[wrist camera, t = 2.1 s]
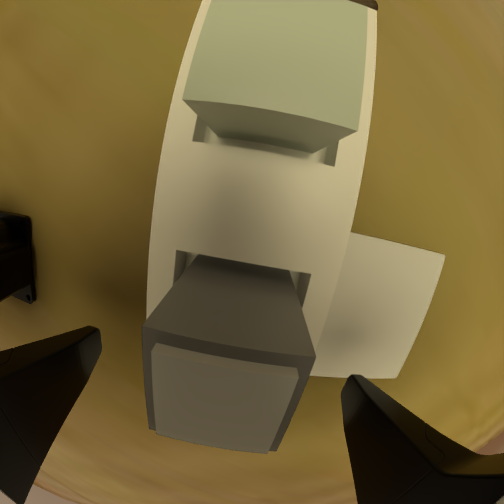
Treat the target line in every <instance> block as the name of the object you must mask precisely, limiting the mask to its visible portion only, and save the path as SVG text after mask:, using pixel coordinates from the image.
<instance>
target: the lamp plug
mask: <svg viewBox="0 0 504 504" xmlns="http://www.w3.org/2000/svg"><path fill="white" fill-rule="evenodd" d="M367 16H368V7H366V6H364V5H361V4H358V3H355V2H352V1H349V0H211V3H210V6H209V9H208V11H207V14H206V17H205V20H204V23H203V26H202V29H201V32H200V35H199V38H198V42H197V45H196V48H195V52H194V55H193V59H192V62H191V66H190V69H189V73H188V77H187V81H186V85H185V89H184V93H183V97H182V100H183V101H184V102H185V103H186V104H187V105H188V106H189V107H190V108H191V109H192V110H193V111H194V112H195V113H196V114H197V115H198V116H199V118H200V119H201V120H202V121H203V122H204V123H205V124H206V125H207V126H208V127H209V128H210V129H211V130H212V131H213V132H214V133H215V134H216V135H217V137H225V138H232V139H239V140H245V141H252V142H258V143H263V144H269V145H274V146H279V147H284V148H289V149H294V150H299V151H303V152H308V153H312V154H313V153H315V152H317V151H319V150H321V149H323V148H325V147H327V146H329V145H331V144H333V143H335V142H337V141H339V140H341V139H343V138H345V137H347V136H349V135H351V134H353V133H355V132H357V131H358V127H359V120H360V112H361V104H362V95H363V85H364V74H365V61H366V45H367Z"/></svg>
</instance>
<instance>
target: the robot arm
mask: <svg viewBox="0 0 504 504" xmlns="http://www.w3.org/2000/svg"><path fill="white" fill-rule="evenodd" d="M11 295H12V296H14V297H16V298H18V299H21V300H23V301H25V302H27V303H29V304H31V303H33V302H34V301H35V300H36V297H35V290H34V281H33V272H32V260H31V242H30V220H29V218H28V217H27V216H25V215H19V214H14V213H9V212H4V211H0V302H1V301H3V300H4V299H6V298H8V297H9V296H11ZM101 351H102V343H101V335H100V330H99V329H98V328H95V327H92V326H86V327H83V328H80V329H76V330H73V331H70V332H66V333H63V334H60V335H56V336H53V337H49V338H46V339H43V340H39V341H36V342H32V343H29V344H25V345H22V346H18V347H15V348H11V349H7V350H4V351H0V491H1V492H2V493H4V494H5V495H6V496H7V497H9V498H10V499H11V500H12V501H14V502H15V503H16V504H24V503H25V500H26V498H27V496H28V493H29V491H30V489H31V487H32V484H33V482H34V480H35V478H36V476H37V474H38V472H39V470H40V466H41V465H42V463H43V461H44V459H45V457H46V455H47V453H48V451H49V449H50V447H51V445H52V443H53V442H54V440H55V438H56V436H57V434H58V432H59V430H60V429H61V427H62V425H63V423H64V421H65V420H66V418H67V416H68V414H69V412H70V411H71V409H72V407H73V406H74V404H75V402H76V400H77V399H78V397H79V395H80V394H81V392H82V390H83V389H84V387H85V385H86V384H87V382H88V379H89V377H90V375H91V373H92V371H93V369H94V367H95V364H96V362H97V360H98V358H99V356H100V354H101ZM341 403H342V413H343V424H344V432H345V437H346V442H347V447H348V452H349V457H350V462H351V468H352V473H353V479H354V484H355V490H356V496H357V502H358V504H504V453H501V454H494V455H480V454H477V453H475V452H473V451H471V450H469V449H467V448H465V447H464V446H462V445H460V444H458V443H456V442H455V441H453V440H451V439H450V438H448V437H446V436H445V435H443V434H441V433H440V432H438V431H437V430H435V429H434V428H432V427H431V426H430V425H428V424H427V423H425V422H424V421H423V420H421V419H420V418H419V417H417V416H416V415H414V414H413V413H412V412H410V411H409V410H408V409H406V408H405V407H403V406H402V405H401V404H399V403H398V402H397V401H395V400H394V399H393V398H391V397H390V396H389V395H387V394H386V393H385V392H383V391H382V390H381V389H379V388H378V387H377V386H375V385H374V384H373V383H371V382H370V381H369V380H367V379H366V378H365V377H364V376H362V375H360V374H351V375H350V376H349V377H348V379H347V381H346V383H345V385H344V387H343V389H342V392H341Z"/></svg>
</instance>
